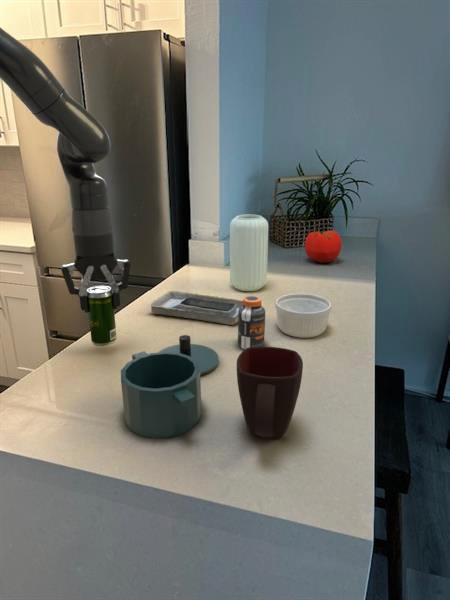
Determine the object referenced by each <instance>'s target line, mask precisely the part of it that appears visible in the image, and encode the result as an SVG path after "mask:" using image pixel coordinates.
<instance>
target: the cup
mask: <svg viewBox="0 0 450 600" xmlns="http://www.w3.org/2000/svg"><path fill="white" fill-rule="evenodd" d="M303 368H304V362H303V358H302V357H301V355H300V354H299V353H298V352H297V351H296V350H292V349H289V348H284V347H279V346H278V347H277V346H263V347H250V348H246V349H243V350H242V352H241V353H239V355H238V357H237V359H236V380H237V388H238V395H239V399H240V405H241V409H242V413H243V418H244V420H245V424H246V427H247V429H248V432H249V434H250V435H251V436H253V437H256V438H259V439H265V440H278V439H282V438H283V437H284V436H285V434H286V432H287V431H288V428H289V426H290V424H291V420H292V418H293V415H294V412H295V410H296V409H295V408H296V405H297V402H298V397H299V393H300V389H301V384H302V378H303V370H304V369H303Z"/></svg>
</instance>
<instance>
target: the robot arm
mask: <svg viewBox="0 0 450 600" xmlns="http://www.w3.org/2000/svg"><path fill="white" fill-rule="evenodd" d="M0 79H1V81H2V82H3V83H4V84H5V85H6V86H7V87H8V88H9V89H10V90H11V92H12V93H13V94H14V95H15V96H16V97H17V99H19V101H20V102H21V103H22V104H23V105H24V106H25V107H26V109H27V110H28V111H29V112H30V113H31V114H32V115H33V116H34V118H35V119H36V120H37V121H39V122H40V123H41V124H43V125H45V126H47V127H48V126H49V127H51V128H53V129H55V130H56V131H58V133H57V138H56V150H57V156H58V160H59V163H60V166H61V168H62V171H63V175H64V177H65V180H66V182H67V184H68V188H69V189H68V190H69V198H70V199H69V200H70V207H71V231H72V235H73V243H74V244H73V245H74V252H75V259H74V261H73V262H72V263H68V264H65V263H63V264H61V266H60V267H61V269H60V271H61V274H62V276H63V278H64V282H65V284H66V287H67V290H68V292H69V295H71V296H73V295H75V296H78V298H79V305H80V309H81V312H82V311H84V313H85V314H88V304H87V296H86V294H87V289H88V288H89V284H90V282H95V281H107V283H108V285H109V287H110V288H111V291H112V293H113V303H114V310H118V307H120V305H121V297H120V295H121V294H120V292H121V291H122V290H127V289H128V286H129V280H130V278H129V277H130V272H131V262H130V260H129V259H128V258H124V259H118V258H117V257H116V255H115V249H114V247H115V246H114V237H113V235H114V234H113V224H112V216H111V213H110V208H109V207H110V206H109V196H108V187H107V183H106V181H105V178H103V177H101V176H99V175H98V174H97V173H96V171H95V167H94V164H98V163H101V162H103V161H105V160H106V159H107V158H108V157H109V155H110V153H111V140H110V137H109V134H108V132H107V130H106V129H105V127H104V126H103V125H102V123H101V122H100V121H99V120H98V119H96V117H94V115H92V114H91V112H89V111H88V110H87V109H86V108H85V107H84V106H83V105H81V104H80V103H79V102H78V101H77V100H76V99H74V98H73V97H72V96H70V94H69V93H68V92H67V90H66V89H65V87H64V86H63V85H62V84H61V82H60V81H59V80H58V79H57V77H56V76H55V74H53V72H52V71H51V69H50V68H49V67H48V66H47V65H46V63H45V62H43V60H42V59H41V58H40V57H39V56H38V55H37V54H36V53H34V52H33V51H32V50H31V49H30V48H28V47H27V46H26V45H24V44H23V43H22V42H20V41H19V40H18V39H17V38H15V37H14V36H12V35H11V34H10V33H9V32H7V31H6V30H4V29H3V28H2V27H1V26H0ZM117 266H118V268H119V270H120V271H121V276H120V282H116V280H115V278H114V276H113V274H112V273H113V271H114V270H115V268H116V267H117ZM74 270H76V271H78V272H79V273H80V274H81V275H82V277H81V280H80V284H79V287H78V286H75V283H74V280H73V277H72V276H73V274H74Z"/></svg>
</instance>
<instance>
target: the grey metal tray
mask: <svg viewBox="0 0 450 600" xmlns="http://www.w3.org/2000/svg"><path fill="white" fill-rule="evenodd" d="M148 306H150V308H151V309H150V310H151V313H152V314H156V315H157V314H158V315H162V316H163V315H164V316H172V317H177V318H186V319H192V320H198V321H205V322H212V323H217V324H223V325H229V326H230V325H231V326H235V325H236V324H238V310H239V308H240V307H241V306H243V300H240V299H235V298H228V297H220V296H215V295H209V294H199V293H193V292H186V291H185V292H183V291H176V290H169V291H167V292H165V293H164V294H162V295H161V296H159V297H158V298H157V299H155V300H153V301H152V302H151V303H149V304H148Z"/></svg>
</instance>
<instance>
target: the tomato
mask: <svg viewBox="0 0 450 600" xmlns="http://www.w3.org/2000/svg"><path fill="white" fill-rule="evenodd" d="M304 250H305V253H306V256H307V257H308V258H309V259H310V260H311V261H312V262H317V263H318V264H319V263H320V264H326V263H331V262H333V261H336V260H337V259H338V257H339V256H340V253H341V251H342V238H341V236H340V234H339V232H337V231H336V230H331V229H330V230H326V231H325V230H324V231H322V233H321V232H320V231H318V230H317V231H311V232H309V234H308V235H307V236H306V237H305V241H304Z"/></svg>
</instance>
